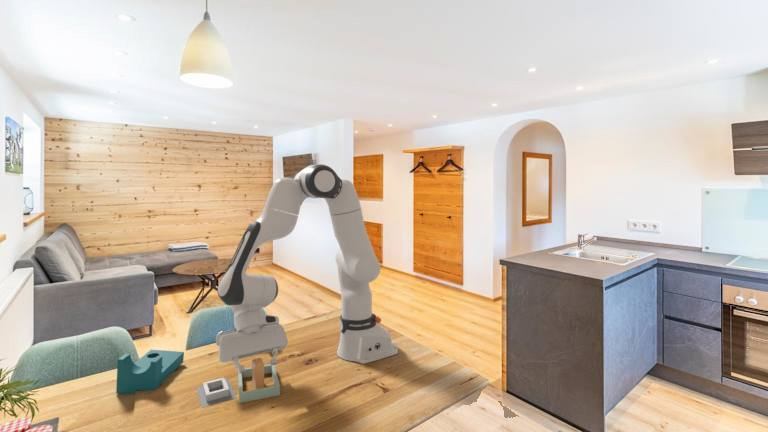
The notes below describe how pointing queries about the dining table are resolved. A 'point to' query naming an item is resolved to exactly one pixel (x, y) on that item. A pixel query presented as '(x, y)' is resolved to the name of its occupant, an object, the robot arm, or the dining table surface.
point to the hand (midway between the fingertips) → (258, 368)
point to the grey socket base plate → (215, 392)
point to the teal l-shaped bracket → (146, 370)
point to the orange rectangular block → (258, 373)
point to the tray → (260, 392)
